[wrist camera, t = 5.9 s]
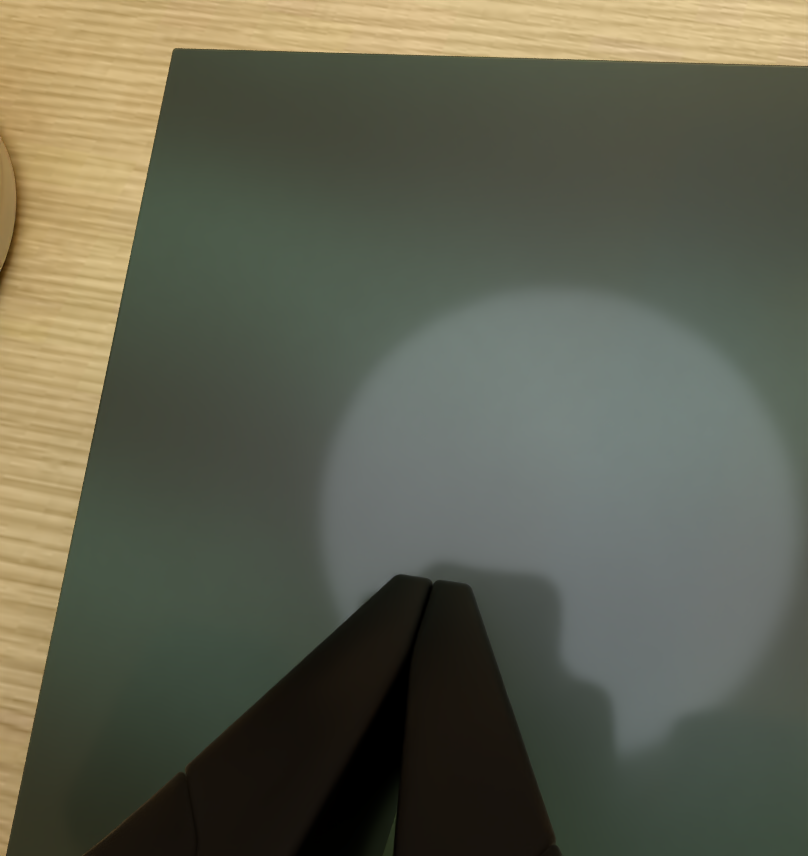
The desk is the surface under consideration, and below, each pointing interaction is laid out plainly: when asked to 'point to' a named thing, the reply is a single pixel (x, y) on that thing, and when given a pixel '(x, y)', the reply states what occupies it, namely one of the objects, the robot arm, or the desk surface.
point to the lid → (458, 429)
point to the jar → (6, 202)
